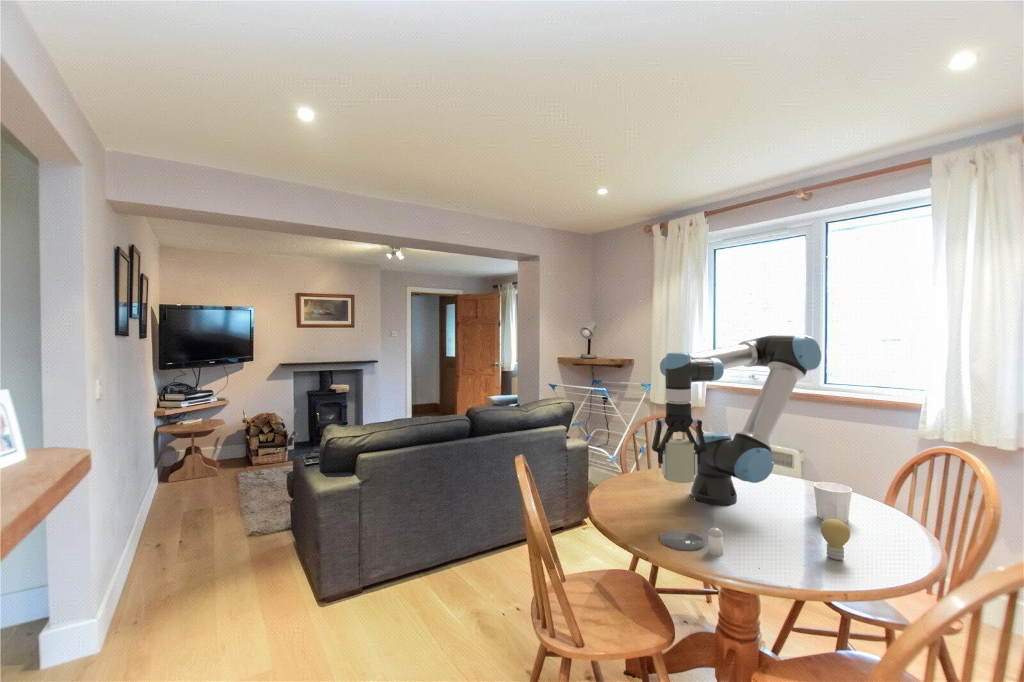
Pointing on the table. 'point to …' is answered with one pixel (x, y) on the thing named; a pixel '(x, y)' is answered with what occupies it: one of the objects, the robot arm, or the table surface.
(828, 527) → the light bulb
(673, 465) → the can
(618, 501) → the table surface
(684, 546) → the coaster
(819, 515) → the cup
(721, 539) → the salt shaker
